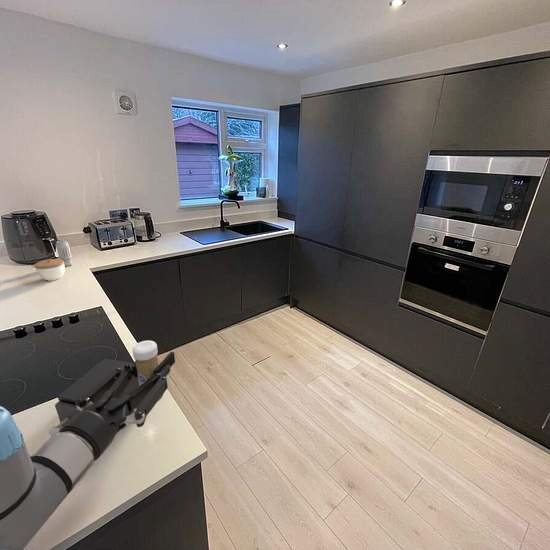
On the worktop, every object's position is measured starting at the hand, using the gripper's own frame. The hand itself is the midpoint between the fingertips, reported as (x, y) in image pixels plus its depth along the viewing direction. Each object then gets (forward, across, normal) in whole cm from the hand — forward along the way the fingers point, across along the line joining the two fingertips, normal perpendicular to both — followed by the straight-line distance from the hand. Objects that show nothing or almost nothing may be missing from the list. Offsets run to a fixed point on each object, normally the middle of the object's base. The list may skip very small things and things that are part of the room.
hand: (163, 355), depth 65 cm
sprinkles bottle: (-5, 0, -7) cm, 9 cm away
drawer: (-5, -18, -19) cm, 27 cm away
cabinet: (0, -18, -20) cm, 27 cm away
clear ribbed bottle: (+86, -123, -21) cm, 151 cm away
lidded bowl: (+67, -112, -21) cm, 132 cm away
